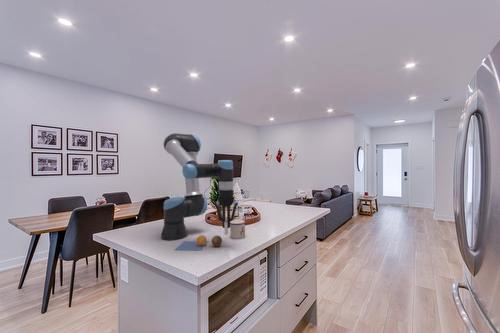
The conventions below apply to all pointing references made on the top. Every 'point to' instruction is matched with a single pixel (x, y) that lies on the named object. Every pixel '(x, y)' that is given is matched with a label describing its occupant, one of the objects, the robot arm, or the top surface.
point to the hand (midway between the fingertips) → (226, 233)
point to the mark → (190, 246)
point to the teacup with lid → (237, 228)
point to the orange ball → (201, 240)
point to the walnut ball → (216, 240)
